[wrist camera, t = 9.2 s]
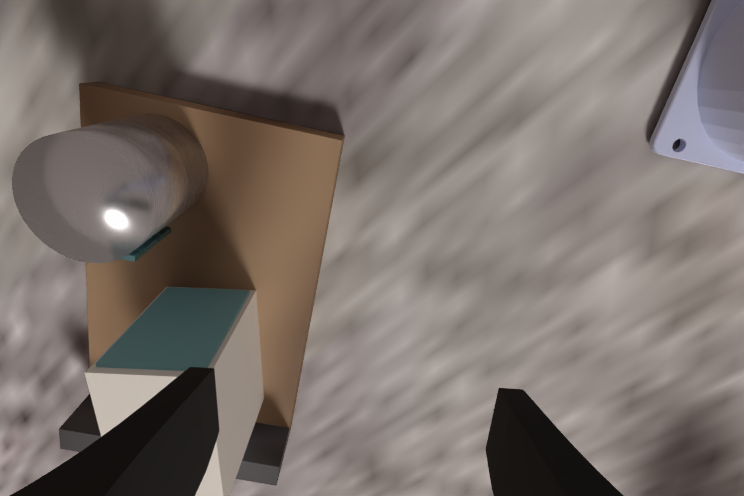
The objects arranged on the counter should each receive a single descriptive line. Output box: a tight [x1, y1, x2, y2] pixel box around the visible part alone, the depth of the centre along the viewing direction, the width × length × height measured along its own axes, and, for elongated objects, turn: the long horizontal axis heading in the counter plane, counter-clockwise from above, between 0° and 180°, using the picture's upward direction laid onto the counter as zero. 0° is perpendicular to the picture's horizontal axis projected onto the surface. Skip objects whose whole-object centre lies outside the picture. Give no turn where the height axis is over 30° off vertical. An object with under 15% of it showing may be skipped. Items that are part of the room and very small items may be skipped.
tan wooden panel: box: [59, 82, 345, 485], centre depth 20 cm, size 10×16×4 cm, turn 168°
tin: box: [12, 113, 208, 263], centre depth 16 cm, size 4×4×5 cm
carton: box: [85, 287, 264, 496], centre depth 19 cm, size 6×4×6 cm, turn 178°
